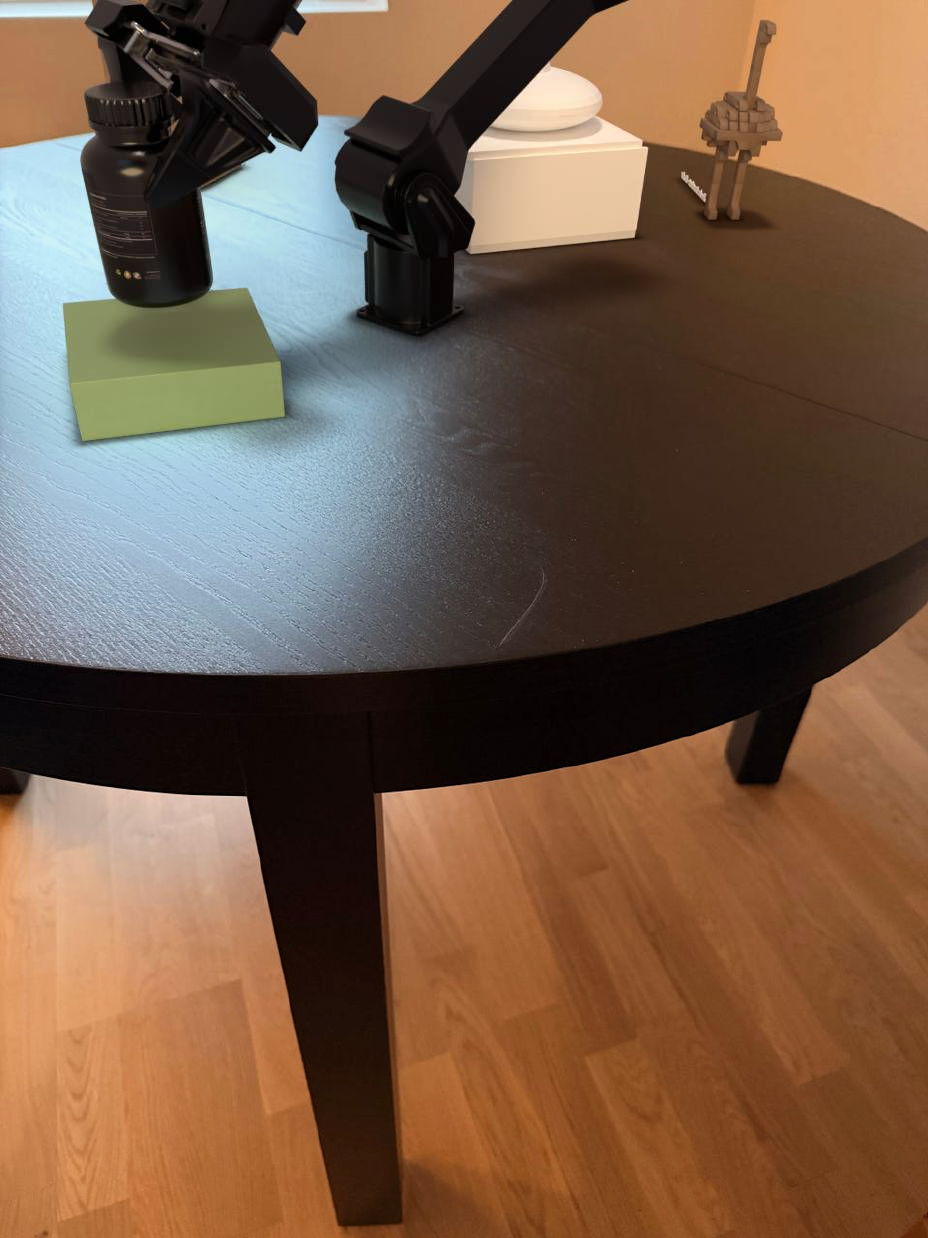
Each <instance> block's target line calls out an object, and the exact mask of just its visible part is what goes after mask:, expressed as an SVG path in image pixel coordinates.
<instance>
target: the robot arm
mask: <svg viewBox="0 0 928 1238" xmlns="http://www.w3.org/2000/svg"><path fill="white" fill-rule="evenodd" d="M629 1H630V0H511V1H510V2H509V3H508V4H506V6H505V7H504V8H503V10H502V11H501V12H499V14H498V15H497V16H495V18H494V19H493V20H492V21H491V22H490V23H489V24H488V26H486V27H485V29H484V30H483V31H482V32H481V33H480V34H479V35H478V36H477V37H476V39H474V41H473V42H472V43H471V44H470V45H469V46H468V47H467V48H466V49H465V50H464V52H463V53H462V54H460V56H459V57H458V58H457V59H456V60H455V61H454V62H453V63H452V64H451V65H450V66H449V68H448V69H447V70H446V71H445V72H444V73H443V74H442V75H441V76H440V78H438V79H437V81H436V82H435V83H434V84H433V85H431V87H430V88H429V89H428V90H427V91H426V92H425V93H424V94H423V96H421V97H420V98H419V99H417V100H416V101H412V102H410V103H409V102H406V101H403V100H400V99H397V98H394V97H391V96H388V95H386V94H383V95H381V96H379V97H378V98H377V99H376V100H375V101H374V102H372V104H371V105H370V107H369V108H368V110H367V111H366V112H365V114H364V116H363V117H362V118H361V119H360V120H359V121H358V122H357V123H356V124H354V125H353V126H351V127H349V128H347V129H345V130H344V131H343V135H344V136H346V137H348V139H346V141H345V142H344V143H343V144H342V146H341V148H340V149H339V151H338V152H337V154H336V157H335V159H334V166H335V170H334V185H335V192H336V194H337V196H338V198H339V201H340V202H341V203H342V205H343V206H344V207H345V208H346V209H347V210H348V211H349V214H350V217H351V220H352V223H353V226H354V228H355V229H356V230H357V231H358V230H359V231H363V232H366V233H367V234H366V250H365V251H364V252H363V270H364V271H363V273H364V274H363V275H364V277H363V278H364V301H365V303H367V304H366V305H363V306H362V307H360V308H358V309H356V310H355V316H356V318H358V319H360V320H363V321H367V322H370V323H372V324H376V325H379V326H382V327H385V328H387V329H391V330H394V331H397V332H399V333H403V334H405V335H407V336H408V335H409V336H413V337H415V338H419V337H420V338H421V337H424V336H425V335H427V334H429V333H430V332H433V331H434V330H436V329H438V328H439V327H441V326H444V325H445V324H447V323H449V322H451V321H452V320H455V319H456V318H458V317H460V316H462V315H463V314H465V313H464V312H465V307H464V306H463V305H459V304H456V303H454V288H455V287H454V284H455V257H456V256H455V254H456V253H457V252H460V251H466V250H465V249H467V248H468V246H469V243H470V240H471V236H472V233H473V230H474V226H475V219H474V218H473V217H472V216H471V215H470V214H469V212H468V211H467V210H466V209H465V208H464V207H463V206H462V204H461V203H460V202H459V201H458V200H457V199H456V197H455V194H456V193H457V191H458V190H459V188H460V186H461V183H462V178H463V174H464V169H465V164H466V160H467V155H468V151H469V150H470V148H471V147H472V146H473V144H474V143H475V142H476V141H477V140H478V139H479V138H480V137H481V136H482V135H483V134H484V132H485V131H486V130H487V129H488V128H489V127H490V126H491V125H492V124H493V123H494V122H495V120H496V119H497V118H498V117H499V116H500V115H501V114H502V113H503V112H504V111H505V110H506V108H507V107H508V106H509V105H510V104H511V103H512V102H513V101H514V100H515V99H516V98H517V97H518V95H519V94H520V93H521V92H522V91H523V90H524V89H525V88H526V87H527V86H528V85H529V83H530V82H531V81H532V80H533V79H534V78H535V77H536V76H537V75H538V74H539V73H540V71H541V70H542V69H543V68H544V67H545V66H546V65H547V64H548V63H549V62H550V63H551V61H552V59H554V58H555V57H556V55H557V54H558V53H560V51H561V50H562V49H563V48H564V46H565V45H567V43H568V42H569V41H570V40H571V39H572V38H573V37H574V36H575V34H577V32H579V30H580V29H581V28H582V27H583V26H584V25H585V24H586V22H588V20H590V19H591V18H592V17H593V16H595V15H596V14H600V13H601V12H605V11H606V10H608V9H612V8H614V7H616V6H618V5H621V4H623V3H626V2H629ZM302 2H303V0H148V2H147V4H146V5H144V4H142V3H138V2H135V1H132V0H98V1H97V3H96V5H95V6H94V8H93V7H92V10H91V11H90V12H89V15H88V16H87V18H86V20H85V21H84V25H85V26H86V28H87V29H88V30H89V31H90V32H91V33H92V34H94V35H95V36H96V37H97V39H96V42H97V47H98V49H99V51H100V50H101V51H102V52H103V54H104V58H105V61H106V65H107V68H108V72H109V76H110V83H111V82H120V81H146V82H153V83H158V84H161V85H163V86H166V88H168V92H169V97H170V104H171V111H172V112H173V113H174V121H175V122H176V121H177V120H178V122H177V124H176V126H175V129H174V131H173V133H172V135H171V137H170V139H169V141H168V143H167V145H166V147H165V149H164V151H163V153H162V155H161V158H160V160H159V162H158V164H157V166H156V168H155V170H154V172H153V174H152V177H151V179H150V182H149V184H148V187H147V189H146V192H145V194H144V200H145V202H147V203H148V204H149V205H150V206H152V207H153V208H154V209H156V210H161V209H163V208H164V207H166V206H168V205H170V204H171V203H173V202H175V201H176V200H178V199H180V198H181V197H183V196H185V195H187V194H188V193H190V192H192V191H193V190H195V189H197V188H198V187H200V186H202V185H204V184H205V183H207V182H209V181H210V180H212V179H214V178H216V177H217V176H219V175H221V174H223V173H225V172H227V171H229V170H231V169H232V168H234V167H236V166H238V165H240V164H241V165H242V164H244V163H246V162H248V161H250V160H252V159H255V158H256V157H258V156H260V155H262V154H264V153H267V154H269V155H272V153H273V152H275V150H276V149H277V147H276V145H275V144H274V143H273V141H272V140H270V139H269V138H270V136H271V137H272V138H273V139H274V140H275V142H277V143H279V144H281V145H283V146H285V147H287V148H290V149H292V150H295V151H297V152H300V153H302V152H303V150H304V148H305V147H306V146H307V144H308V142H309V140H310V139H311V137H312V136H313V134H314V132H315V131H316V130H317V128H318V127H319V111H318V109H319V108H318V100H317V98H316V97H315V96H314V95H313V94H312V93H311V92H310V90H309V89H307V88H306V87H305V86H304V85H303V84H302V82H301V81H300V80H299V79H298V78H297V77H296V76H295V75H294V73H292V72H291V70H289V68H288V67H287V66H286V65H285V64H284V63H283V62H282V61H281V60H280V59H279V58H278V57H277V55H276V54H275V53H274V52H273V51H272V50H273V48H274V46H276V43H277V42H278V40H279V38H280V37H281V35H282V34H283V33H286V34H289V35H293V36H296V37H299V35H300V33H301V32H302V30H303V28H304V27H305V25H306V23H307V20H306V19H305V18H304V17H303V15H302V14H301V13H300V12H299V11H298V9H299V7H300V5H301V3H302ZM162 22H163V23H164V24H165V25H167V26H168V27H169V29H168V28H167V27H166V26H165V25H164V24H163V23H162ZM181 96H182V103H181V102H179V101H178V100H177V99H178V98H179V97H181ZM176 98H177V99H176ZM175 122H174V123H175ZM171 126H172V125H171Z"/></svg>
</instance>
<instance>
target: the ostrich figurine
mask: <svg viewBox="0 0 928 1238" xmlns="http://www.w3.org/2000/svg"><path fill="white" fill-rule="evenodd" d="M776 35H777V24H776V23H775V22H773V21H771V20H769V19H760V20H759V23H758V29H757V34H756V39H755V43H754V48H753V52H752V53H753V54H752V59H751V64H750V70H749V74H748V79H747V84H746V89H745V91H732V90H731V91H726V92H724V95H723V97H722V100H716V102H710V103H711V104H710V109H707V110H706V111H705V113H704V117H701V118H700V122H699V128H700V129H702V131H701V138H700V139H701V140H702V141H703V142H706V146H707V147H708V148H715V153H714V158H713V163H712V169H711V174H710V179H709V185H708V190H707V193H706V192H704V193H703V189H700V186H697V185H696V183H695V181H694V180H693V181H692V179H691V178H689V177H690V176H689V175H687V174H686V171H681V174H680V175H681V177H680V178H681V179H682V180H683V181H684V182H685V183H686V184H687V185H688V187H690V188H691V190H693V192H694V193H695V194H696V195H697V196H698V197H699V198H700V200H702V201H703V202H704V203H705V206H704V211H703V215H704V217H706V219H707V220H709V221H711V220H712V221H713V220H717V216H718V210H717V202H718V201H717V200H718V195H719V191H720V186H721V180H722V176H723V171H724V166H725V163H726V161H728V160H729V157H730V158H732V157H733V158H734V157H736V155H737V153H738V155H737V160H736V165H735V170H734V174H733V180H732V185H731V191H730V196H729V200H728V203H727V204H728V205H727V210H726V216H727V217H729V219H731V220H732V221H733V220H740V216H741V213H742V212H741V209H740V201H741V197H742V191H743V187H744V181H745V178H746V173H747V167H748V163H749V162H751V161H752V159H753V158H760V155H761V148H762V147H763V146H764V147H765V146H767V145H768V142H782V138H783V133H784V132H783V131H782V130H781V129H780V128H779V125H778V124H779V122H778V120H777V119H776V118H775V116H776V109H775V107H773V106H772V105H771V104H769V103H767V102H766V101H765V100H764V99H763V98H761V97H760V96H758V90H759V85H760V81H761V75H762V70H763V64H764V60H765V54H766V50H767V47H768V45H769V44H771V43H772V39H773V36H776Z"/></svg>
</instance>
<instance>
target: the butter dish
mask: <svg viewBox="0 0 928 1238" xmlns="http://www.w3.org/2000/svg"><path fill="white" fill-rule="evenodd" d="M603 101H604V100H603V95H602V93H601V91H600V90H599V89H598V87H597V86H596V85H595V84H594V83H592V82H591V81H590V80H589V79H587V78H585V77H583V76H582V75H581V76H580V75H579V74H577V73H574V72H572V71H569V70H565V69H563V68H559V67H555V66H551V61H550V62H549V63H548V64H547V65H546V66H545V67H544V68H543V69H542V70H541V71H540V73H539V74H538V75H537V76H536V77H535V78H534V79H533V80H532V81H531V82H530V83H529V85H528V86H527V87H526V88H525V89H524V90H523V91H522V92H521V93H520V94H519V95H518V97H517V98H516V99H515V100H514V101H513V102H512V103H511V104H510V105H509V106H508V107H507V108H506V110H505V111H504V112H503V113H502V114H501V115H500V116H499V117H498V118H497V119H496V120H495V122H494V123H493V124H492V125H491V126H490V127H489V128H488V129H487V130H486V131H485V132H484V134H483V135H482V136H481V137H480V138H479V139H478V140H477V141H476V142H475V143H474V144H473V146H472V147H471V148H470V150H469V151H468V155H467V160H466V164H465V169H464V174H463V178H462V183H461V186H460V188H459V190H458V191H457V193H456V194H455V197H456V199H457V200H458V201H459V202H460V203H461V204H462V206H463V207H464V208H465V209H466V210H467V211H468V212H469V214H470V215H471V216H472V217H473V218H474V219H475V226H474V230H473V233H472V236H471V240H470V243H469V246H468V248H467V249H465V250H464V251H466V252H467V253H469V254H470V255H475V254H485V253H495V252H504V251H505V252H506V251H516V250H524V249H525V250H527V249H534V248H546V247H555V246H565V245H573V244H574V245H576V244H584V243H585V244H586V243H593V242H594V243H595V242H602V241H603V242H604V241H615V240H625V239H633V238H635V237H636V232H637V227H638V220H639V214H640V207H641V200H642V194H643V187H644V180H645V172H646V166H647V161H648V153H649V147H647V146H643V142H644V140H643V139H641V138H639V137H637V136H636V135H633V134H631V133H629V132H627V131H625V130H624V129H622V128H620V127H619V126H617V125H614V124H612V123H610V122H608V121H606V120H605V119H603V118H601V117H599V116H597V114H598V113H599V112H600V111H601V109H602V107H603V103H604V102H603Z"/></svg>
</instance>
